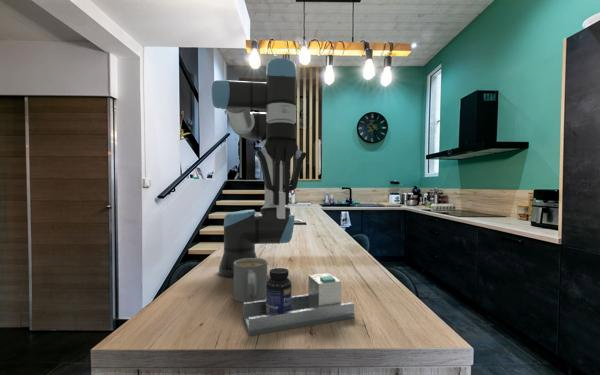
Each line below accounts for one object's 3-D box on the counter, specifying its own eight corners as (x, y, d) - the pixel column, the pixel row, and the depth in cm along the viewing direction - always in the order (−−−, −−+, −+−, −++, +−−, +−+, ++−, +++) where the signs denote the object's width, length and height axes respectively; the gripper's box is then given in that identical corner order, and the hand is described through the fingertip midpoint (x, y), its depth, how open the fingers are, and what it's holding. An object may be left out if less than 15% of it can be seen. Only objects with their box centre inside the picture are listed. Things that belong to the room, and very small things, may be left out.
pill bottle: (287, 322, 65) (288, 275, 65) (262, 320, 67) (262, 273, 67) (293, 311, 71) (293, 267, 71) (270, 309, 73) (270, 266, 73)
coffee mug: (237, 289, 90) (237, 257, 90) (268, 289, 90) (269, 257, 90) (226, 307, 76) (226, 270, 76) (263, 307, 76) (263, 270, 76)
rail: (243, 316, 71) (243, 277, 71) (336, 302, 80) (336, 268, 80) (249, 335, 61) (249, 291, 61) (354, 317, 70) (354, 279, 70)
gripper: (258, 118, 65) (257, 221, 65) (311, 123, 69) (310, 219, 70) (252, 125, 72) (252, 217, 73) (300, 128, 76) (300, 215, 77)
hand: (280, 218), depth 71 cm, fingers closed
